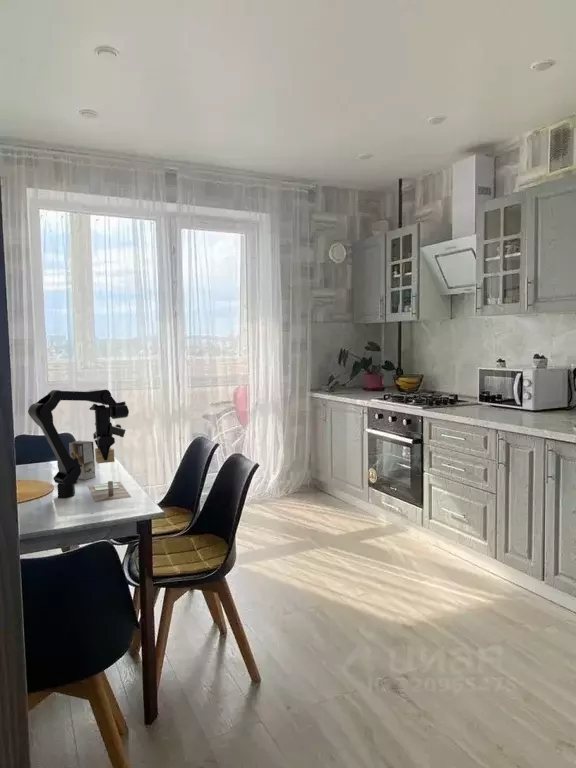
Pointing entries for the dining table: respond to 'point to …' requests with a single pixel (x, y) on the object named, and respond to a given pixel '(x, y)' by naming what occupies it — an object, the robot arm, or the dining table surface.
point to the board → (105, 493)
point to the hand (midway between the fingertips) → (104, 458)
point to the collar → (100, 458)
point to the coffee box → (84, 457)
